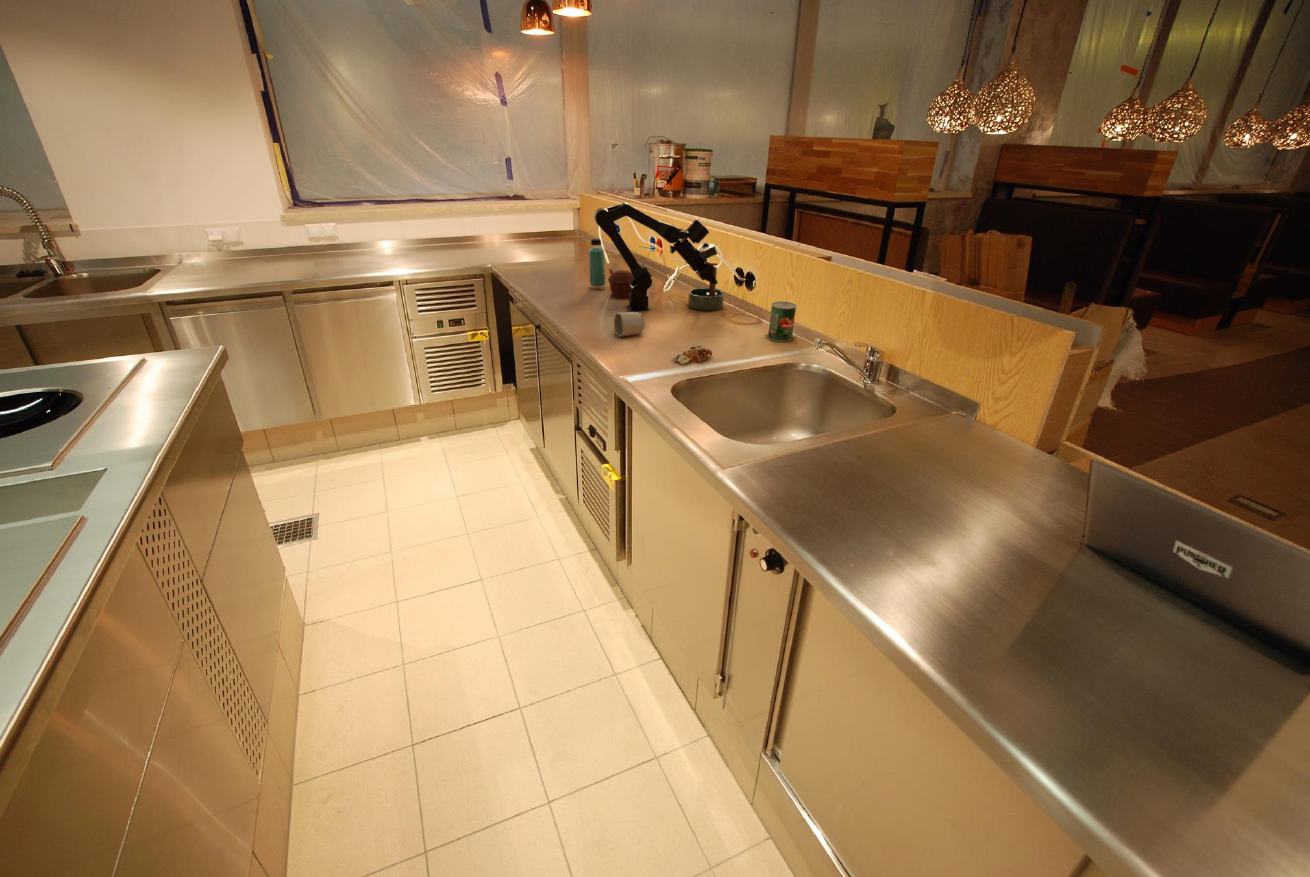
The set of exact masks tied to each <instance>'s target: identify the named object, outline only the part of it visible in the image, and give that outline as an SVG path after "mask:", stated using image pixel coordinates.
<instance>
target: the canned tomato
mask: <svg viewBox="0 0 1310 877" xmlns="http://www.w3.org/2000/svg"><path fill="white" fill-rule="evenodd" d="M796 311H797V304H795V303H793V302H789V301H774V302H772V303H771V308H770V316H769V325H768V334H767V338H768V339H769V340H772V341H775V342H790V341H791V340H793V333H794V326H795V320H796V319H795V318H796Z"/></svg>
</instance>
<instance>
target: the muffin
mask: <svg viewBox="0 0 1310 877" xmlns="http://www.w3.org/2000/svg"><path fill="white" fill-rule="evenodd" d="M633 280H634V278H633V275H632V273H631V270H626V269H619V270H615V271H614V272H612V273H611V274H610V275H609V277H608V278H607V281H608V282H609V287H610V288H609V289H610V293H611V294H610V295H611V296H612V297H613V298H614V299H619V300H621V299H623V300H626V299H627V300H628V299H629V291H631V289H630V287H629V284H630V283H631V282H632V281H633Z"/></svg>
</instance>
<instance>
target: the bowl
mask: <svg viewBox="0 0 1310 877" xmlns="http://www.w3.org/2000/svg"><path fill="white" fill-rule="evenodd" d="M707 292H709V287H697V288H693V289H690V290H689V291H688V300H687V301H688V302H687V303H688V304H687V305H688V307H690V308H692V310H693V309H694V310H697V311H703V312H705V311H706V312H708V311H709V312H710V311H711V312H712V311H717V310H719V309H721V308H723V306H724V297H725V295H724V291H722V290H720V289H716V288H715V293H717V294H718V296H711V297H707V296H706V293H707Z"/></svg>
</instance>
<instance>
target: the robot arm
mask: <svg viewBox="0 0 1310 877" xmlns="http://www.w3.org/2000/svg"><path fill="white" fill-rule="evenodd" d="M625 217H627V218H630V219H631V220H633V221H635V222H637V223H639V224H641V225H643V226H645V227H646V228H648V229H650V230H652V231H654V232H655V233H656V234H657V235H659V236H660V237H661V238H663V239H664V240H665V241H666V242H668V243H669V244H670V245H669V253H670V254H671V255H673V254H674V253H675V252H676V253H677V254H678V255H679V256H680V257H681V259H683V261H685V262H686V263H687V264H688V265H689V268H690V269H691V270H692V271H693V272H695V274H696V275H697V277H699V278H700V280H702V281H706V282H711V283H713V284H716V285H718V284H719V282H718V280H717V277H716V278H715V276H714V275H713V273H712V272H713V271H714V269H715V267H714V266H715V265H713V264H712V263H711V262H709V261H708V259H709V258H711V257H714V256H717V255H718V251H717V248H716V246H715V244H713V243H708V242H703V243H702V244H701V245H702V247H701V248H700V249H698V248H697V247H695V246H694V245H695V244H700V243H701V242H702V241H703V240H704V239H705V238H706V237H707V235H708V234H709V233H710V231H709V229H707V227H706V226H705V225H703V224H702V222H700V220H698V219H697V218H695V219H694V220H693V221H692V223H691V224H690V225H688V227H687V228H686V229H685V228H680V227H679V228H678V227H677V226H676V225H675V224H672V223H668V222H667V221H662V220H658V219H656V218H654V217H652V216H651V215H648V214H647V213H645V212H643V211H642V210H640V209H637V208H636V207H634V206H632V205H631V204H630V203H628V202H622V203H620V204H617V205H614V206H610V207H606V208H605V207H599V208H596V210H595V211H594V213H593V219H594V221H595V223H596V224H597V226H598V227H599V228H600V229H601V230H602V231H603V232H604V233H605V234H606V235H607V236H608V237H609V239H610V240H611V242H612V244H613V245H614V246H615V248H616V249H617V251H618V252H619V254H620V256H621V258H623V260H624V262H625V263H626V265H627V266H628V268H629V271H630V272H631V273H632V275H633V278H634V280H633V281H632V282H631V283H630V284H629V287H630V289H631V291H629V298H628V305H627V308H629V310H630V311H631V312H636V311H637V312H638V311H648V310H649V296H648V290H649V289H650V288H651V287H652V285H653V279H652V277H653V275H652V274H651V272H650V271H649V269H648V268H647V266H646V264H645V263H642V264H640V263H639V262H638V261H637V259H636V257H635V256H634V254H633V252H631V250H630V248H629V246H628V245H627V244H626V242H625V241H624V239H623V236H621V234H620V232H619V231H618V228H617V226H616V221H618V220H620V219H622V218H625ZM693 244H694V245H693Z"/></svg>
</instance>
